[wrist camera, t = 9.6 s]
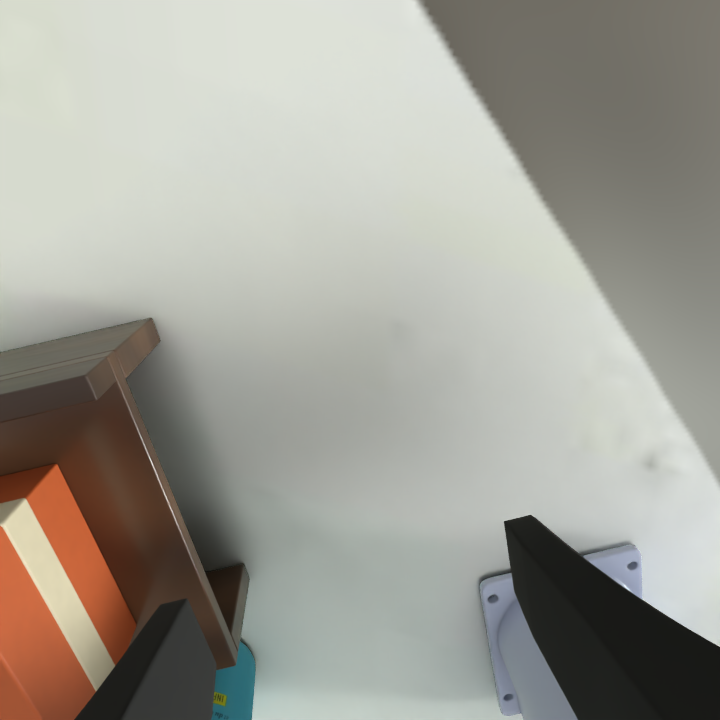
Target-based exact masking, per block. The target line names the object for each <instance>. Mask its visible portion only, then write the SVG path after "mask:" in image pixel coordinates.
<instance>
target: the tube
mask: <svg viewBox="0 0 720 720" xmlns="http://www.w3.org/2000/svg"><path fill="white" fill-rule="evenodd" d="M254 684H255V661H254V657H253V656H252V654H251V652H250V650H249V649H248V648H247V646H246V645H244V644H243V643H242V642H241V641H240V643H239V650H238V656H237V663H236V666H233V667H229V668H225V669H220V670H216V678H215V692H214V702H213V712H212V719H211V720H252V709H253V696H254Z"/></svg>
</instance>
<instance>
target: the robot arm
mask: <svg viewBox="0 0 720 720" xmlns="http://www.w3.org/2000/svg"><path fill="white" fill-rule="evenodd" d="M504 525H505V532H506V539H507V546H508V553H509V560H510V566H511V573H507V574H503V575H499V576H495V577H491V578H487V579H485V580H483V581H482V582H481V584H480V594H481V600H482V606H483V612H484V618H485V624H486V630H487V636H488V642H489V648H490V654H491V660H492V666H493V672H494V678H495V684H496V690H497V696H498V702H499V707H500V710H501V712H502V714H504V715H506V716H511V715H516V714H520V713H521V714H522V716H523V719H524V720H720V647H719V646H717V645H715V644H713V643H712V642H710V641H708V640H706V639H705V638H703V637H701V636H700V635H698V634H696V633H694V632H693V631H691V630H689V629H688V628H686V627H684V626H683V625H681V624H679V623H678V622H676V621H674V620H673V619H671V618H670V617H668V616H666V615H665V614H663V613H662V612H660V611H659V610H657V609H655V608H654V607H652V606H651V605H650V604H648V603H647V602H645V601H644V600H642V555H641V552H640V551H639V549H638V548H637V547H636V546H635V545H625V546H621V547H617V548H612V549H608V550H604V551H600V552H596V553H591V554H587V555H583V556H581V555H580V554H579V553H577V552H576V551H575V550H574V549H572V548H571V547H570V546H569V545H567V544H566V543H565V542H564V541H562V540H561V539H560V538H559V537H558V536H556V535H555V534H554V533H553V532H552V531H550V530H549V529H548V528H547V527H546V526H544V525H543V524H542V523H541V522H540V521H539V520H537V519H536V518H535V517H533V516H532V515H528V516H524V517H520V518H516V519H512V520H508V521H504ZM630 562H631V563H630ZM629 563H630V564H629ZM491 595H494V596H492V597H489V596H491ZM216 665H217V664H216V661H215V659H214V657H213V655H212V652H211V650H210V648H209V646H208V643H207V641H206V639H205V637H204V634H203V632H202V630H201V628H200V625H199V623H198V621H197V619H196V616H195V614H194V612H193V610H192V607H191V605H190V603H189V601H188V598H185V599H181V600H177V601H173V602H169V603H164V604H161V605H160V606H159V607H158V608H157V610H156V611H155V612H154V614H153V615H152V616H151V618H150V619H149V620H148V622H147V623H146V624H145V626H144V627H143V629H142V630H141V631H140V633H139V634H138V635H137V637H136V638H135V640H134V641H133V642H132V644H131V645H130V646H129V648H128V649H127V651H126V652H125V653H124V655H123V656H122V657H121V659H120V660H119V662H118V663H117V664H116V666H115V667H114V668H113V670H112V671H111V672H110V674H109V675H108V676H107V678H106V679H105V680H104V682H103V683H102V684H101V686H100V687H99V688H98V690H97V691H96V692H95V694H94V695H93V696H92V698H91V699H90V700H89V702H88V703H87V704H86V705H85V707H84V708H83V709H82V710H81V712H80V713H79V714H78V715H77V717H76V718H75V719H74V720H211V719H212V712H213V702H214V692H215V678H216Z"/></svg>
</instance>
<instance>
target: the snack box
mask: <svg viewBox="0 0 720 720" xmlns="http://www.w3.org/2000/svg"><path fill="white" fill-rule="evenodd" d="M135 629H136V622H135V620H134V618H133V616H132V614H131V612H130V610H129V608H128V606H127V604H126V602H125V600H124V598H123V596H122V594H121V592H120V590H119V588H118V586H117V584H116V582H115V580H114V578H113V576H112V574H111V572H110V570H109V568H108V566H107V564H106V562H105V560H104V558H103V556H102V554H101V552H100V550H99V547H98V545H97V543H96V541H95V539H94V537H93V535H92V533H91V531H90V529H89V527H88V525H87V523H86V521H85V519H84V517H83V515H82V513H81V511H80V509H79V507H78V505H77V503H76V501H75V499H74V497H73V495H72V493H71V491H70V489H69V487H68V485H67V483H66V481H65V479H64V477H63V475H62V473H61V471H60V469H59V467H58V465H57V464H51V465H47V466H43V467H38V468H34V469H30V470H26V471H21V472H17V473H13V474H8V475H4V476H0V720H74V719H75V718H76V717H77V715H78V714H79V713H80V712H81V710H82V709H83V708H84V707H85V705H86V704H87V703H88V702H89V700H90V699H91V698H92V696H93V695H94V694H95V692H96V691H97V690H98V688H99V687H100V686H101V684H102V683H103V682H104V680H105V679H106V678H107V676H108V675H109V674H110V672H111V671H112V670H113V668H114V667H115V666H116V664H117V663H118V662H119V660H120V659H121V657H122V656H123V655H124V653H125V652H126V651H127V649H128V647H129V644H130V642H131V639H132V637H133V634H134V631H135Z"/></svg>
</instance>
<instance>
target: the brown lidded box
mask: <svg viewBox="0 0 720 720" xmlns="http://www.w3.org/2000/svg"><path fill="white" fill-rule="evenodd" d="M159 342H160V338H159V335H158V333H157V330H156V327H155V325H154V322H153V319H152V318H147V319H143V320H139V321H134V322H130V323H126V324H121V325H117V326H113V327H108V328H104V329H100V330H95V331H91V332H87V333H82V334H78V335H74V336H69V337H65V338H61V339H56V340H52V341H48V342H43V343H39V344H34V345H30V346H26V347H21V348H17V349H13V350H8V351H4V352H0V476H4V475H8V474H13V473H17V472H21V471H26V470H30V469H34V468H38V467H43V466H47V465H51V464H57V465H58V467H59V469H60V471H61V473H62V475H63V477H64V479H65V481H66V483H67V485H68V487H69V489H70V491H71V493H72V495H73V497H74V499H75V501H76V503H77V505H78V507H79V509H80V511H81V513H82V515H83V517H84V519H85V521H86V523H87V525H88V527H89V529H90V531H91V533H92V535H93V537H94V539H95V541H96V543H97V545H98V547H99V550H100V552H101V554H102V556H103V558H104V560H105V562H106V564H107V566H108V568H109V570H110V572H111V574H112V576H113V578H114V580H115V582H116V584H117V586H118V588H119V590H120V592H121V594H122V596H123V598H124V600H125V602H126V604H127V606H128V608H129V610H130V612H131V614H132V616H133V618H134V620H135V622H136V629H135V631H134V634H133V637H132V639H131V642H130V644H129V646H130V645H131V644H132V642H133V641H134V640H135V638H136V637H137V635H138V634H139V633H140V631H141V630H142V629H143V627H144V626H145V624H146V623H147V622H148V620H149V619H150V618H151V616H152V615H153V614H154V612H155V611H156V610H157V608H158V607H159V606H160V605H161V604H164V603H169V602H173V601H177V600H181V599H185V598H188V601H189V603H190V605H191V607H192V610H193V612H194V614H195V616H196V619H197V621H198V623H199V625H200V628H201V630H202V632H203V634H204V637H205V639H206V641H207V643H208V646H209V648H210V650H211V652H212V655H213V657H214V659H215V661H216V664H217V665H216V670H220V669H225V668H229V667H233V666H236V663H237V656H238V650H239V643H240V637H241V631H242V624H243V618H244V611H245V605H246V599H247V592H248V586H249V577H248V574H247V572H246V569H245V566H244V564H240V565H236V566H232V567H228V568H223V569H219V570H215V571H211V572H206V573H205V571H204V569H203V566H202V564H201V562H200V559H199V557H198V554H197V552H196V549H195V547H194V544H193V542H192V540H191V537H190V535H189V532H188V530H187V527H186V525H185V523H184V520H183V518H182V515H181V513H180V510H179V508H178V505H177V503H176V501H175V498H174V496H173V493H172V491H171V488H170V486H169V484H168V481H167V479H166V476H165V474H164V471H163V469H162V466H161V464H160V462H159V459H158V457H157V454H156V452H155V449H154V447H153V444H152V442H151V440H150V437H149V435H148V432H147V430H146V427H145V425H144V423H143V420H142V418H141V415H140V413H139V410H138V408H137V405H136V403H135V401H134V398H133V396H132V393H131V391H130V388H129V386H128V384H127V381H126V378H127V377H128V376H129V375H130V374H131V373H132V371H133V370H134V369H135V368H136V367H137V366H138V365H139V364H140V363H141V362H142V361H143V360H144V359H145V357H146V356H147V355H148V354H149V353H150V352H151V351H152V350H153V349H154V348H155V347H156V346H157V345H158V343H159ZM128 648H129V647H128Z"/></svg>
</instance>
